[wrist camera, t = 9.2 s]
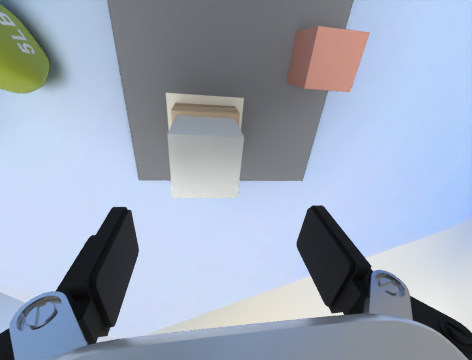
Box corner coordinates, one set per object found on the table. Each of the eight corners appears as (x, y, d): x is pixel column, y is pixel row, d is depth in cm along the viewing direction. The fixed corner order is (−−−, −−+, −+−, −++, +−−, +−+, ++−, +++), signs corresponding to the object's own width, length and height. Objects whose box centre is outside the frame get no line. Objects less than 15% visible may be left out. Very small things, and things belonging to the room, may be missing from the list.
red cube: (296, 31, 22) (318, 26, 18) (338, 36, 23) (369, 32, 19) (286, 82, 25) (304, 88, 21) (325, 86, 26) (349, 92, 21)
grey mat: (101, -43, 18) (99, -45, 18) (352, -3, 22) (354, -4, 21) (139, 178, 29) (138, 180, 29) (301, 179, 33) (302, 180, 32)
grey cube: (176, 115, 21) (167, 134, 16) (234, 118, 22) (244, 137, 17) (178, 167, 24) (172, 198, 19) (230, 168, 25) (237, 197, 20)
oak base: (175, 102, 24) (170, 110, 21) (235, 106, 25) (239, 114, 22) (178, 157, 28) (175, 172, 24) (231, 158, 29) (234, 172, 25)
